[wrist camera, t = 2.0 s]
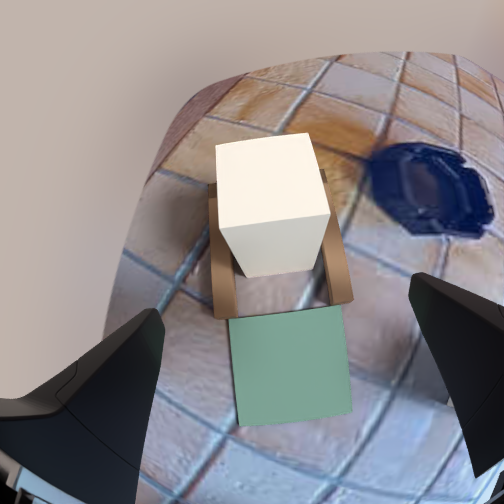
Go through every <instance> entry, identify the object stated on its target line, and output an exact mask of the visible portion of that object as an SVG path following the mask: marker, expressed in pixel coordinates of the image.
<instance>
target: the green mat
mask: <svg viewBox="0 0 504 504" xmlns="http://www.w3.org/2000/svg"><path fill="white" fill-rule="evenodd" d="M229 331H230V342H231V353H232V363H233V373H234V383H235V392H236V401H237V410H238V419H239V426H257V425H271V424H282V423H291V422H299V421H306V420H313V419H320V418H326V417H331V416H336V415H342V414H346V413H351V412H352V399H351V386H350V375H349V366H348V356H347V348H346V340H345V332H344V325H343V318H342V311H341V305H335V306H329V307H323V308H316V309H310V310H303V311H295V312H288V313H280V314H272V315H264V316H255V317H246V318H236V319H229Z"/></svg>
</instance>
